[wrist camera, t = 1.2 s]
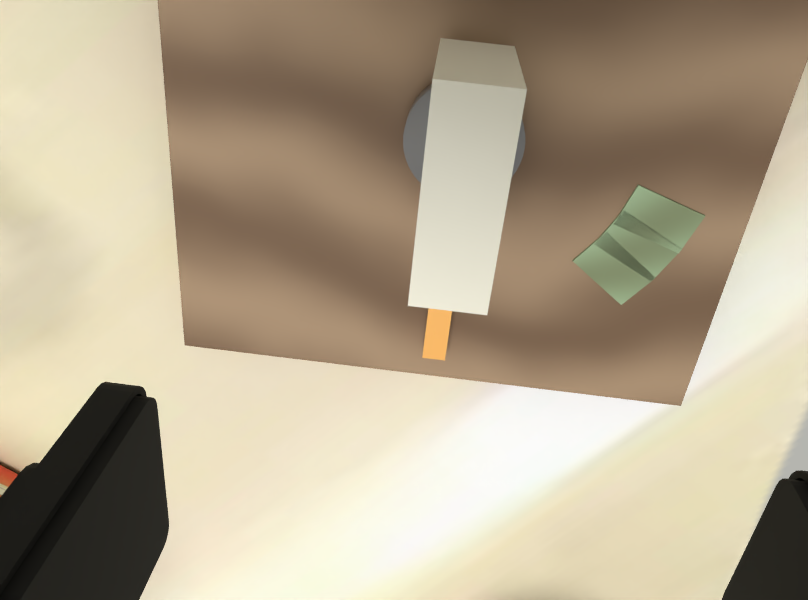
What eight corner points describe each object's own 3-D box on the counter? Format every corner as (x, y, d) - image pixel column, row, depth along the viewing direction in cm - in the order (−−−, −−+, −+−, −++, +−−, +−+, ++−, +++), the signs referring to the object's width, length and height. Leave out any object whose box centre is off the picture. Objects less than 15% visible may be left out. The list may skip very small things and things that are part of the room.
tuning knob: (414, 28, 25) (396, 74, 19) (539, 42, 25) (562, 93, 19) (385, 346, 32) (364, 457, 26) (483, 358, 32) (486, 472, 25)
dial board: (154, -276, 23) (134, -287, 21) (879, -203, 22) (907, -209, 21) (195, 328, 34) (184, 346, 33) (672, 386, 34) (681, 407, 32)
